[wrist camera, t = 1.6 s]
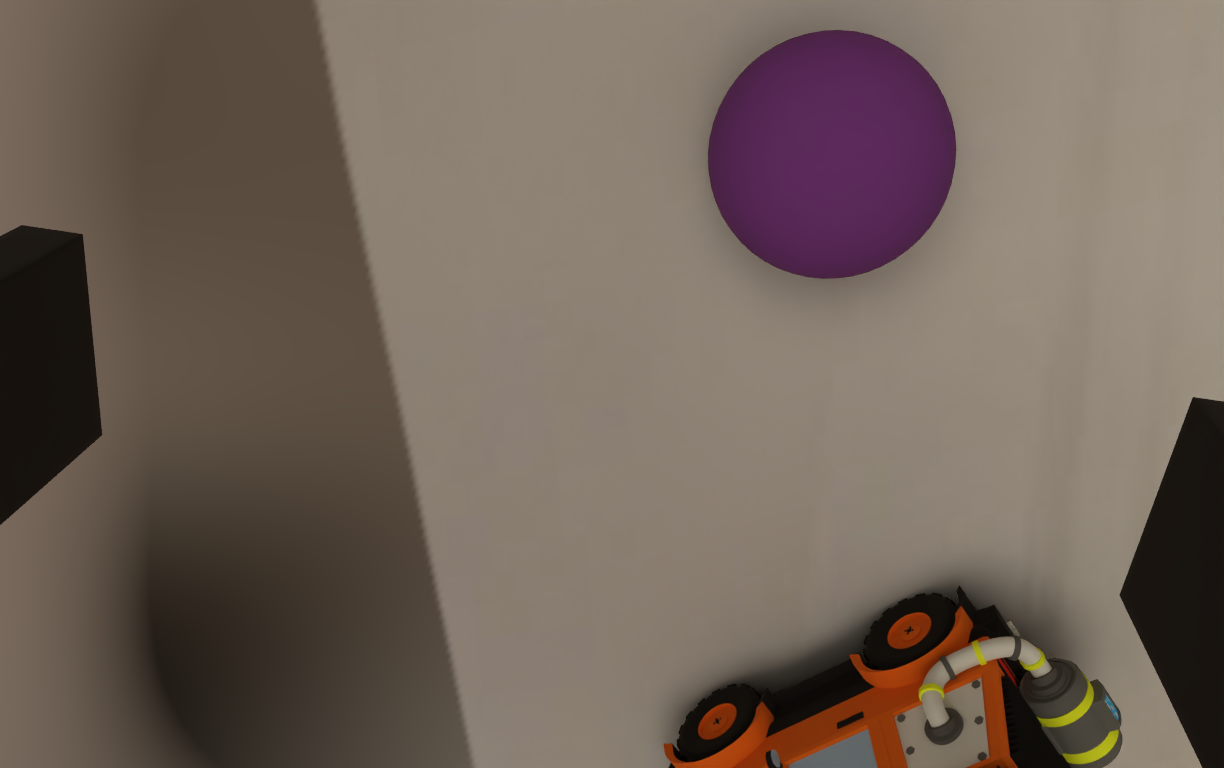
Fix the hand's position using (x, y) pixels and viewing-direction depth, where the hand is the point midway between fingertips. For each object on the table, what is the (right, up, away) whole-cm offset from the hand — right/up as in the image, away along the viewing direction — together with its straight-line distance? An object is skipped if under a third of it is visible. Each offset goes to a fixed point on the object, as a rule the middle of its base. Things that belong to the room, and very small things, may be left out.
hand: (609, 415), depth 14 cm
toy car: (+8, -9, +19) cm, 22 cm away
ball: (+5, +5, +10) cm, 12 cm away
